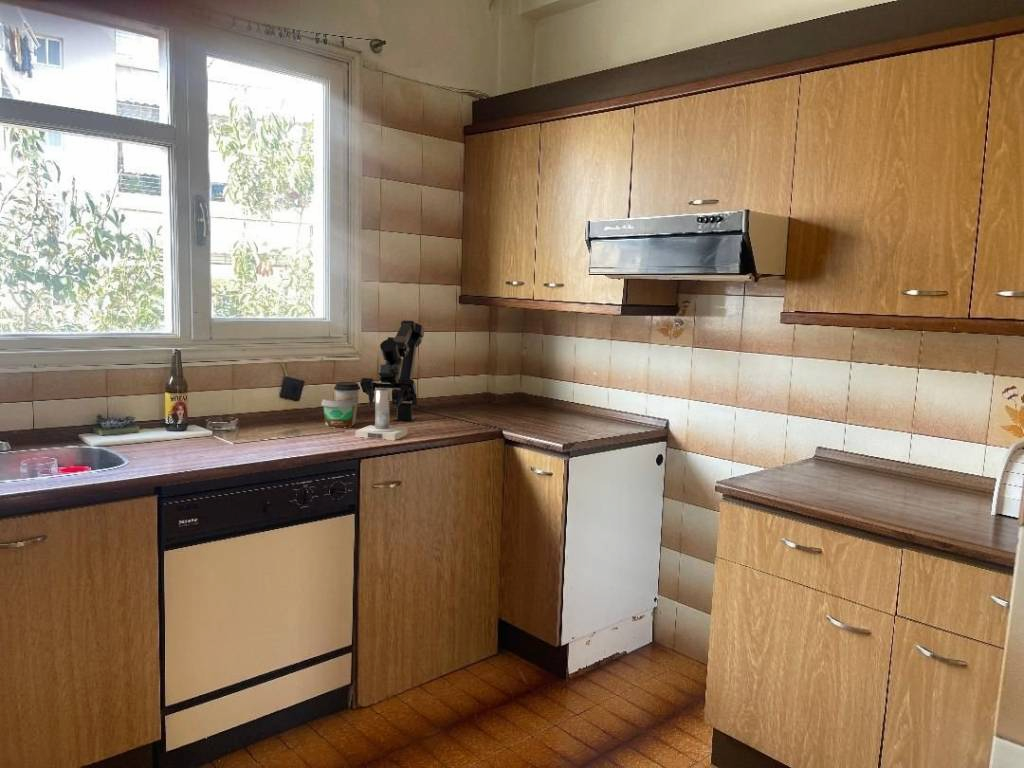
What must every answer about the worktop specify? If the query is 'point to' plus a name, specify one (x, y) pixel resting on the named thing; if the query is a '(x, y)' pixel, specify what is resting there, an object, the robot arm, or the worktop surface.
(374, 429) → the scale
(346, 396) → the coffee cup
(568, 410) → the worktop surface
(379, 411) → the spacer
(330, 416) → the food container
